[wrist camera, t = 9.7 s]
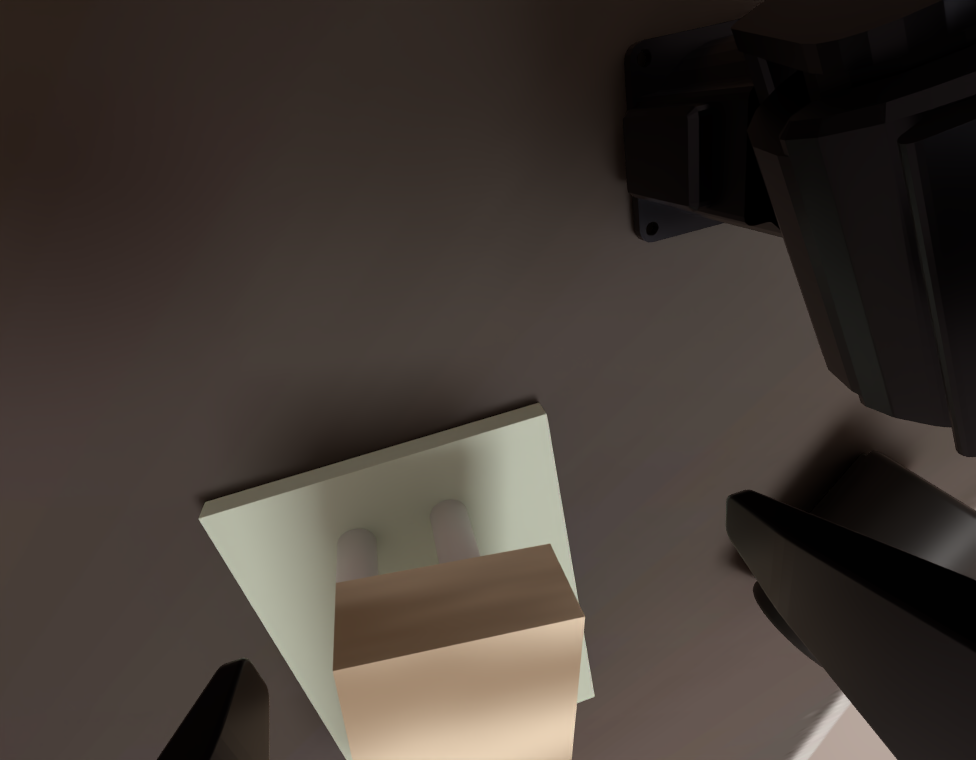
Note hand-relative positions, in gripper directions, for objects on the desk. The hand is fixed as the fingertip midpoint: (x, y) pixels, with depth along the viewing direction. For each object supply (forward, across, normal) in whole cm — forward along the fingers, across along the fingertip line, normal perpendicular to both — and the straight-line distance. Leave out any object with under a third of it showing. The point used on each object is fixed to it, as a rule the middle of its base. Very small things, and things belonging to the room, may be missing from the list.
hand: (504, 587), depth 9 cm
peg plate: (+12, +3, +14) cm, 19 cm away
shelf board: (+6, +3, +14) cm, 15 cm away
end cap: (+12, -19, +17) cm, 28 cm away
